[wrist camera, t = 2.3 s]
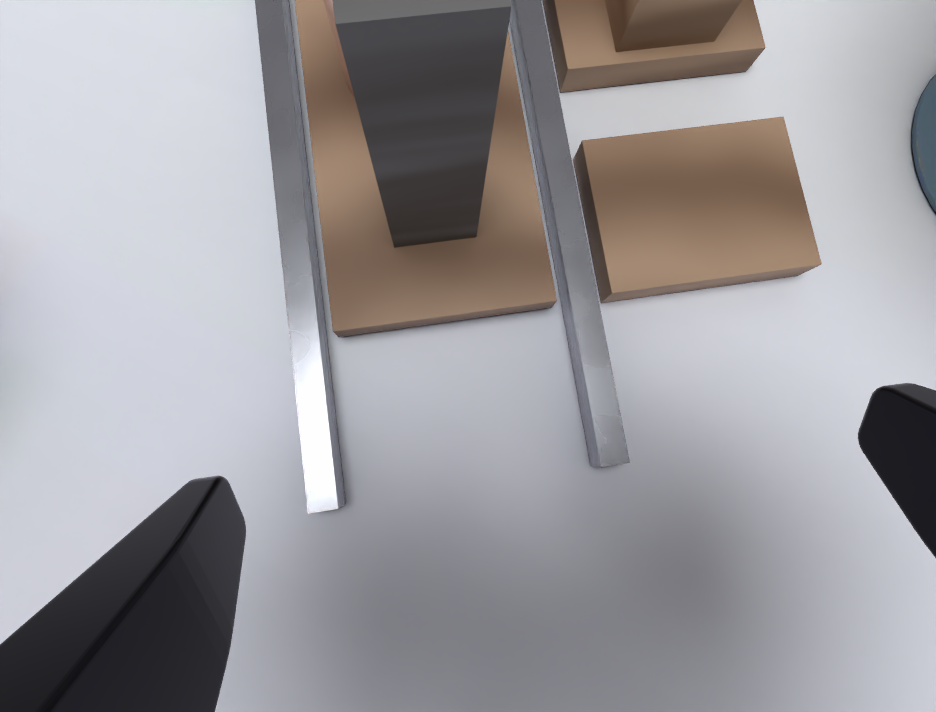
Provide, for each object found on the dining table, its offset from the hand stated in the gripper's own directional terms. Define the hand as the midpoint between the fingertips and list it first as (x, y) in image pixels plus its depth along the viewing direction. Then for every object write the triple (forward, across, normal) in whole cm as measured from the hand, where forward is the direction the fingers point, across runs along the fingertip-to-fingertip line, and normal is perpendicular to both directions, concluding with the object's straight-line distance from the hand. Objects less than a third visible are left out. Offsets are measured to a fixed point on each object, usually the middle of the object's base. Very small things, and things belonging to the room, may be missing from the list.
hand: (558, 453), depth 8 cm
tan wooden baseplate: (+18, +1, -2) cm, 18 cm away
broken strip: (+17, -9, -1) cm, 20 cm away
